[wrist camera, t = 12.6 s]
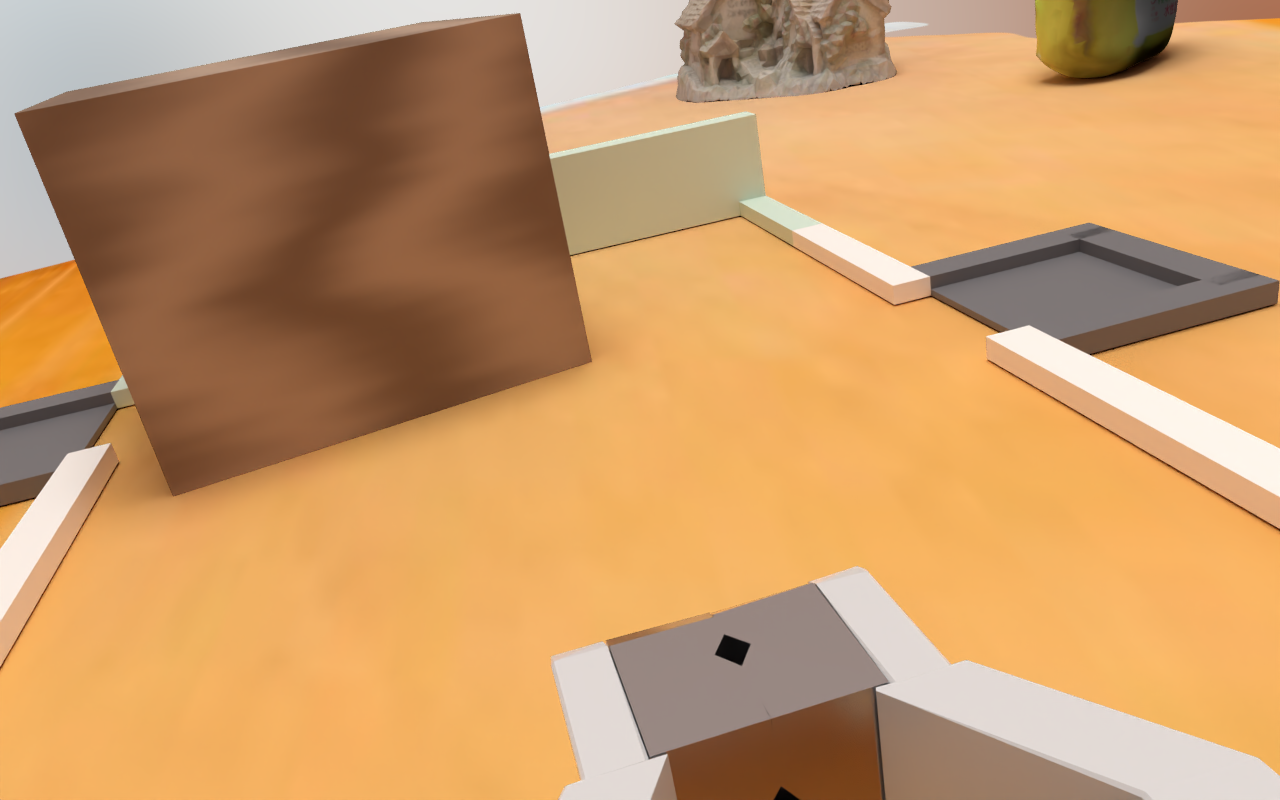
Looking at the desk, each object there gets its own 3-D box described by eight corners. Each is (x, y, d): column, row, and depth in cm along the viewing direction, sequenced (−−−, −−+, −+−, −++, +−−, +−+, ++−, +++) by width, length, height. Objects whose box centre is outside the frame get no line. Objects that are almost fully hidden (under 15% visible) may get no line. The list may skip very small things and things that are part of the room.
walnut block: (174, 500, 26) (14, 113, 22) (175, 371, 36) (66, 91, 32) (592, 365, 30) (520, 13, 26) (485, 282, 40) (422, 22, 36)
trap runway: (-1161, 1508, 10) (-1603, 1284, 8) (-4, 380, 39) (-49, 283, 37) (1846, 491, 15) (1937, 242, 14) (887, 174, 44) (881, 82, 43)
